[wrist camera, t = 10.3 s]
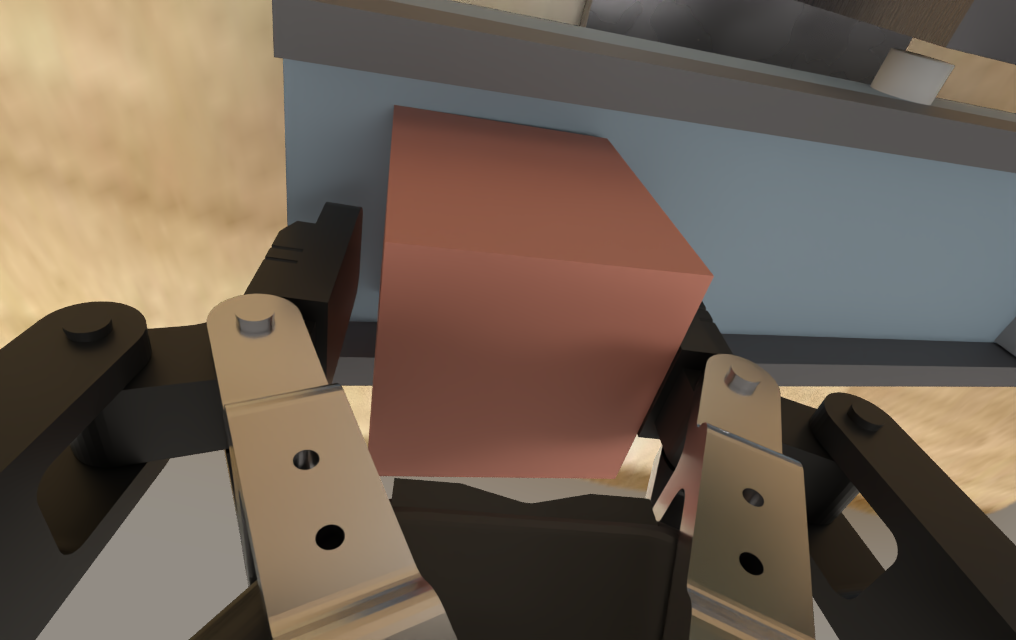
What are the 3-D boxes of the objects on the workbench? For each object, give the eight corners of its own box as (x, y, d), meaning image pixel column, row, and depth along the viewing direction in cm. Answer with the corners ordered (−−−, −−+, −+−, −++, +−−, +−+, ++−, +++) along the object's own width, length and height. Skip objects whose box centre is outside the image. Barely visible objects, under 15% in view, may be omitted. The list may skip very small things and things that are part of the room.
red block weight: (607, 138, 13) (713, 276, 9) (555, 307, 16) (615, 478, 12) (394, 105, 12) (384, 242, 8) (379, 292, 15) (366, 475, 10)
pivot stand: (946, -61, 23) (1342, -25, 13) (749, 297, 33) (878, 477, 23) (624, -152, 21) (788, -200, 10) (519, 264, 31) (548, 449, 21)
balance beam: (1237, 126, 20) (1421, 179, 17) (1016, 355, 27) (1116, 430, 23) (287, -91, 11) (256, -72, 8) (296, 338, 18) (281, 456, 14)
